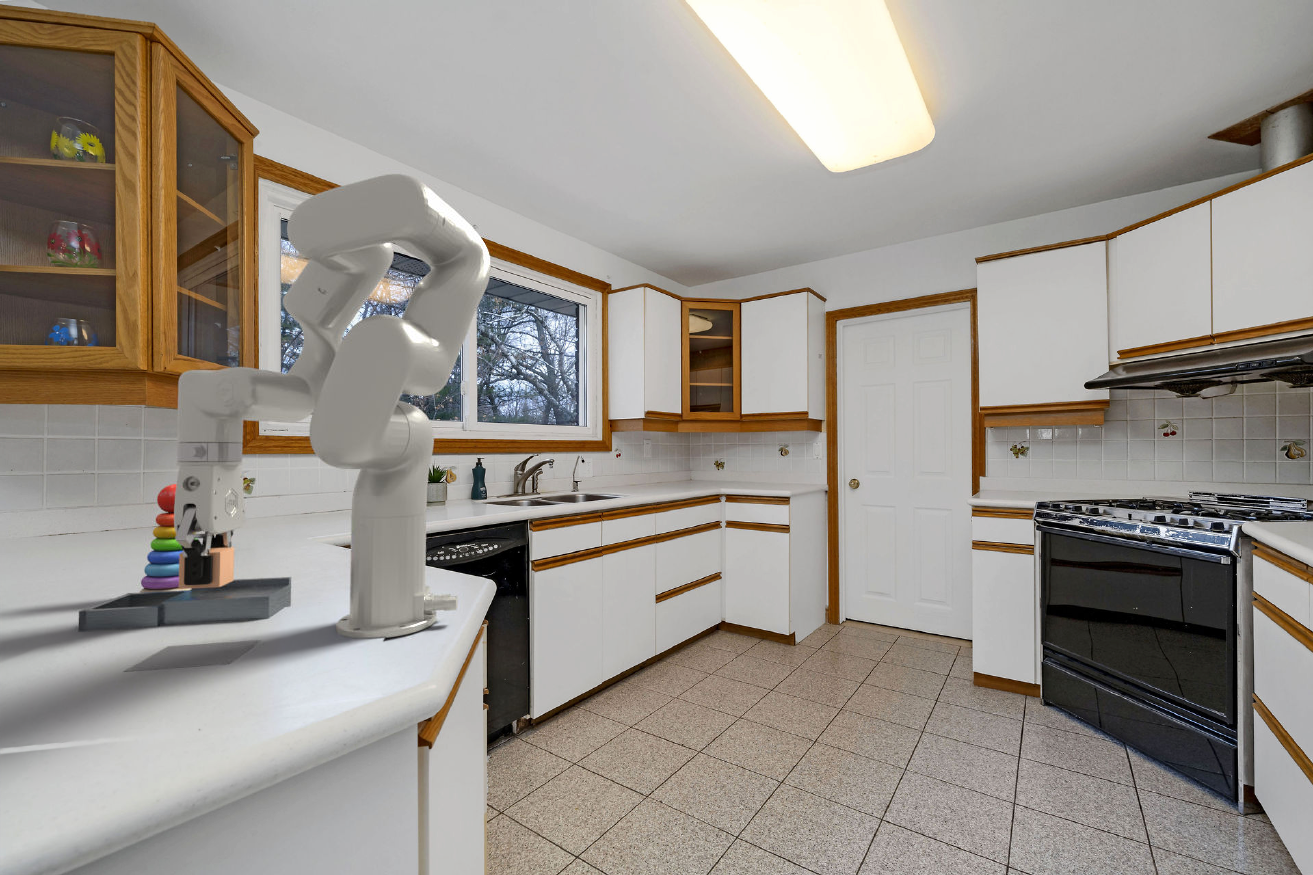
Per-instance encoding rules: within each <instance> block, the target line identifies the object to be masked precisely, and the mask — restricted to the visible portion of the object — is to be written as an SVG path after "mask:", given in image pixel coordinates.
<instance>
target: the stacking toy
mask: <svg viewBox="0 0 1313 875" xmlns="http://www.w3.org/2000/svg"><path fill="white" fill-rule="evenodd" d="M176 485H177V483H172V484H169V485H166V486H165V487H164V488H162V489H161V490H160V491H159V493H158V494H157V498H156V502H157V505H158V507H159V508H160V510H162V511H163V512H161V513H159V514H158V515H157V516H156V518H155V523H156V524H157V525H158V526H156V527H155V528H154V529H153V531H152V536H153V537H155V538H154V539H152V541H151V542H150V548H151V549H152V551H149V552H148V554H147V556H146V559H147V561H148V564H146V566H144V569H143V570H144V573H145V576H143V578H141V580H140V584H141V587H143V588H142V589H141V590H140V591H139V592H138V593H143V592H164V591H185V590H191V588H188V589H179V554H180V553H183V549H182V547H181V545H180V544H179V543H178V542H177V541H176V539H175V537H176V534H177V533H176V531H175V527H174V505H175V494H176ZM193 534H196V533H193Z"/></svg>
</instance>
